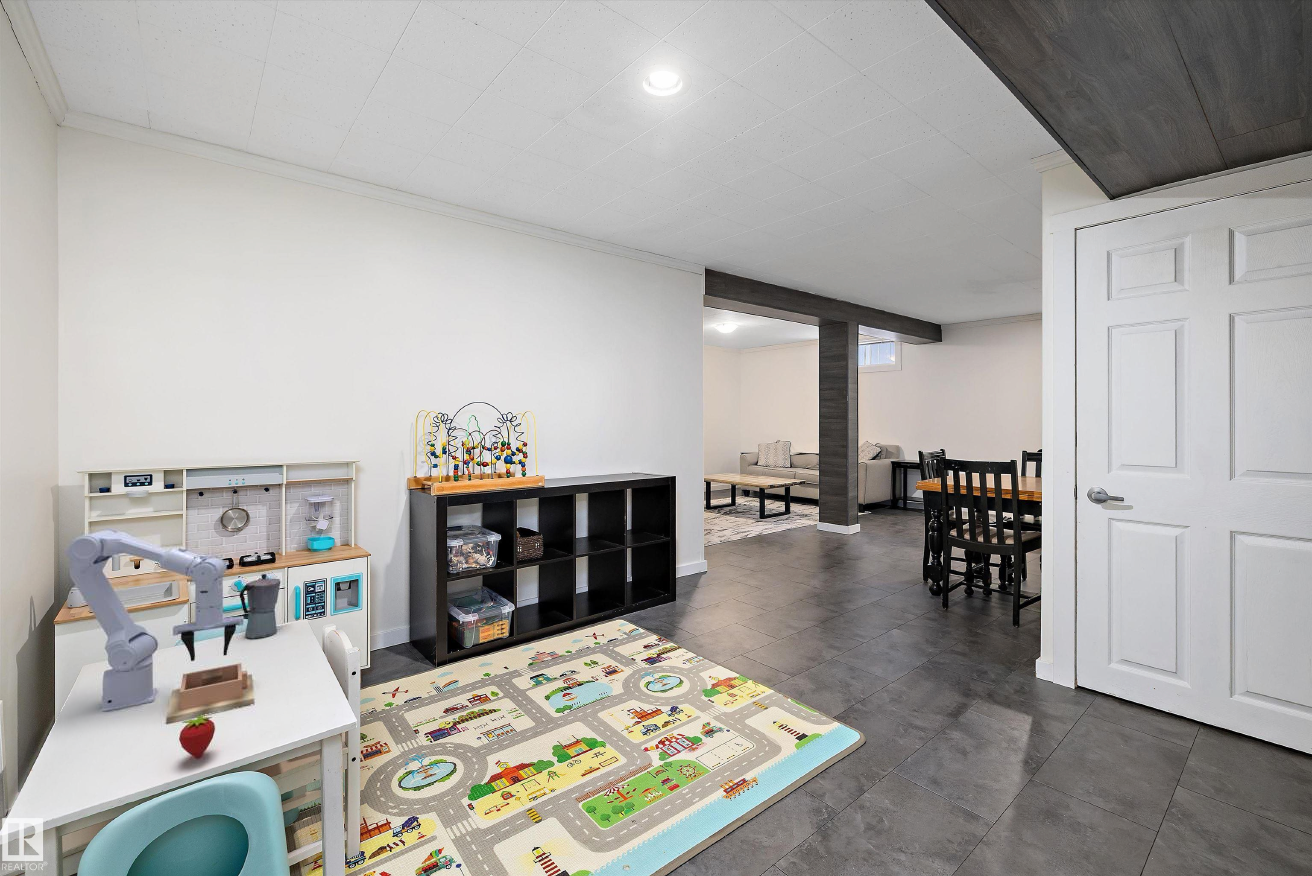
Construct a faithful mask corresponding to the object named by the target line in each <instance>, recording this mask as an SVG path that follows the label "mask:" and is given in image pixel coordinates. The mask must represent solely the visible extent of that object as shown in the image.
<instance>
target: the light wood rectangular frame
mask: <svg viewBox="0 0 1312 876" xmlns="http://www.w3.org/2000/svg"><path fill="white" fill-rule="evenodd" d="M253 681H254V680H253V675H252V674H247V687H243V688H242V697H241V698H236V699H231V700H227V701H222V702H218V703H213V704H209V705H204V706H199V707H195V708H190V709H186V710H181V711H180V689H181V688H178V689H171V693H170V698H169V703H168V707H167V712H166V717H165V718H166V719H165V720H166V723H165V724H166V725H169V724H172V723H178V722H183V721H187V720H190V719H189V718H191V719H195V718H198V716H201V715H204V716H206V715H205V714H209V713H213V712H217V713H219V712H218V711H222V712H224V711H223V710H226V711H228V710H227V709H231V710H234V709H233V708H235V709H238V708H237V707H239V708H243V707H242V706H244V707H247V706H252V705H251V704H253V705H255V693H254V683H253ZM194 712H195V713H197V714H198V715H197V714H195V713H194ZM213 714H214V713H213ZM209 715H210V714H209ZM194 717H195V718H194ZM176 721H177V722H176Z"/></svg>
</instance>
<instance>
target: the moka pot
mask: <svg viewBox="0 0 1312 876" xmlns="http://www.w3.org/2000/svg"><path fill="white" fill-rule="evenodd" d="M260 576H261V578H260V579H257V580H256V579H255V580H252V581H249V582H247V583H246V585H244V586H243V587H242V589H241V591H240V592H239V599H240V602H241V606H242V611H243V613H244V614H245V615H246V614H248V619H247V624H246V629H245V632H244V637H245V638H249V639H256V638H257V639H259V638H266V637H270V636H273V635H275V634H277V630H278V629H277V622H276V621H277V620H276V610H275V609H276V605H277V603H278V597H279V592H280V586H281V579H280V578H267V576H268V575H267V574H265V573H263V574H261V575H260ZM245 592H246V597H247V606H248V607H249V609H247V606H246V598H245Z"/></svg>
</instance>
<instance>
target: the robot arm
mask: <svg viewBox="0 0 1312 876" xmlns="http://www.w3.org/2000/svg"><path fill="white" fill-rule="evenodd" d="M65 554H66V555H67V557H68V559H69V576H70V578H71V580H72V582H73V583H74V585H75V586H76V589H77V590H78V591H79V593H80V594H81V596H82V598H83V600H84V601H85V602H86V604H87V605H88V608H89V609H90V610H91V612H92V614H93V615H94V617H95V619H96V620H97V622H98V623H99V625H100V626H101V628H102V629H103V631H104V633H105V634H106V636H107V639H106V643H105V647H104V650H105V651H106V653H107V663H108V665H109V666H110V667H111V669H106V670H104V671H103V676H102V696H101V697H102V698H101V699H102V710H101V711H102V712H108V711H113V710H119V709H123V708H128V707H133V706H137V705H142V704H146V703H152V702H154V700H155V696H156V693H157V688H155V687H154V676H153V675H154V672H153V671H154V668H153V666H154V663H153V662H154V661H153V654H155V652H156V651H157V650H158V648H159V641H158V639H157V638H156V636H155V635H154V634H151V633H150V632H148V630H147V629H146V627H144V626H142V625H138V624H136V623H135V622H134V620H133V618H132V617H131V615H130V614H129V612H128V611H127V609H126V607H125V606H124V604H123V602H122V601H121V599H120V597H119V596H118V594H117V593H116V591H115V590H114V588H113V586H112V584H111V583H110V581H109V579H108V578H107V576H106V575H105V573H104V569H105V567H106V565H107V563H108V561H109V560H110V559H111V558H112V557H113V556H115V555H121V554H125V555H129V556H134V557H138V558H142V559H145V560H148V561H149V560H150V561H153V562H155V563H156V562H157V563H159V564H160V566H161V568H162V569H163V570H164V571H165V570H166V571H169V572H173V573H176V574H177V575H178V574H179V575H182V576H184V577H185V576H186V577H188V578H190V579H191V581H192V582H194V584H195V587H194V588H195V589H194V590H195V591H194V594H195V595H194V597H195V599H194V603H195V604H194V605H195V606H194V609H195V611H194V612H195V613H194V621H193V622H189V623H188V622H187V623H183V624H178V625H173V626H172V636H178V635H180V639H181V641H182V643H183V644H184V646H185V647H186V650H187V651H188V655H189V656H190V662H194V661H195V659H196V651H195V649H196V648H195V633H197V632H201V631H208V630H215V629H216V630H217V629H222V628H224V630H223V636H224V638H223V640H224V644H223V656H224V657H225V656H227V655H228V650H229V646H230V643H231V640H232V638H233V637H234V634H235V632H236V630H237V626H238V627H239V626H244V616H243V615H241V616H230V617H229V616H228V617H227V616H226V617H224V612H223V611H224V608H223V607H224V593H223V592H224V591H223V590H224V585H223V583H224V582H223V581H224V578H223V576H224V575H225V573H226V572H227V567H228V566H227V563H226V561H225V560H224V559H222V558H221V557H219V556H218V555H217V556H214V555H213V556H209V557H208V555H206V554H197V553H194V552H192V551H189V550H188V548H187V547H184V546H181V547H173V548H170V549H167V548H164V547H161V546H159V545H156V544H153V543H150V542H147V541H145V540H143V539H140V538H137V537H134V536H133V535H130V534H128V533H127V532H123V531H118V530H116V529H112V528H105V529H102V530H99V531H97V532H92V533H89V534H84V535H80V536H78V537H75V538H74V539H73V540H72V541H71V542H70V544H69V546H68V548H67V549H66V550H65Z"/></svg>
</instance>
